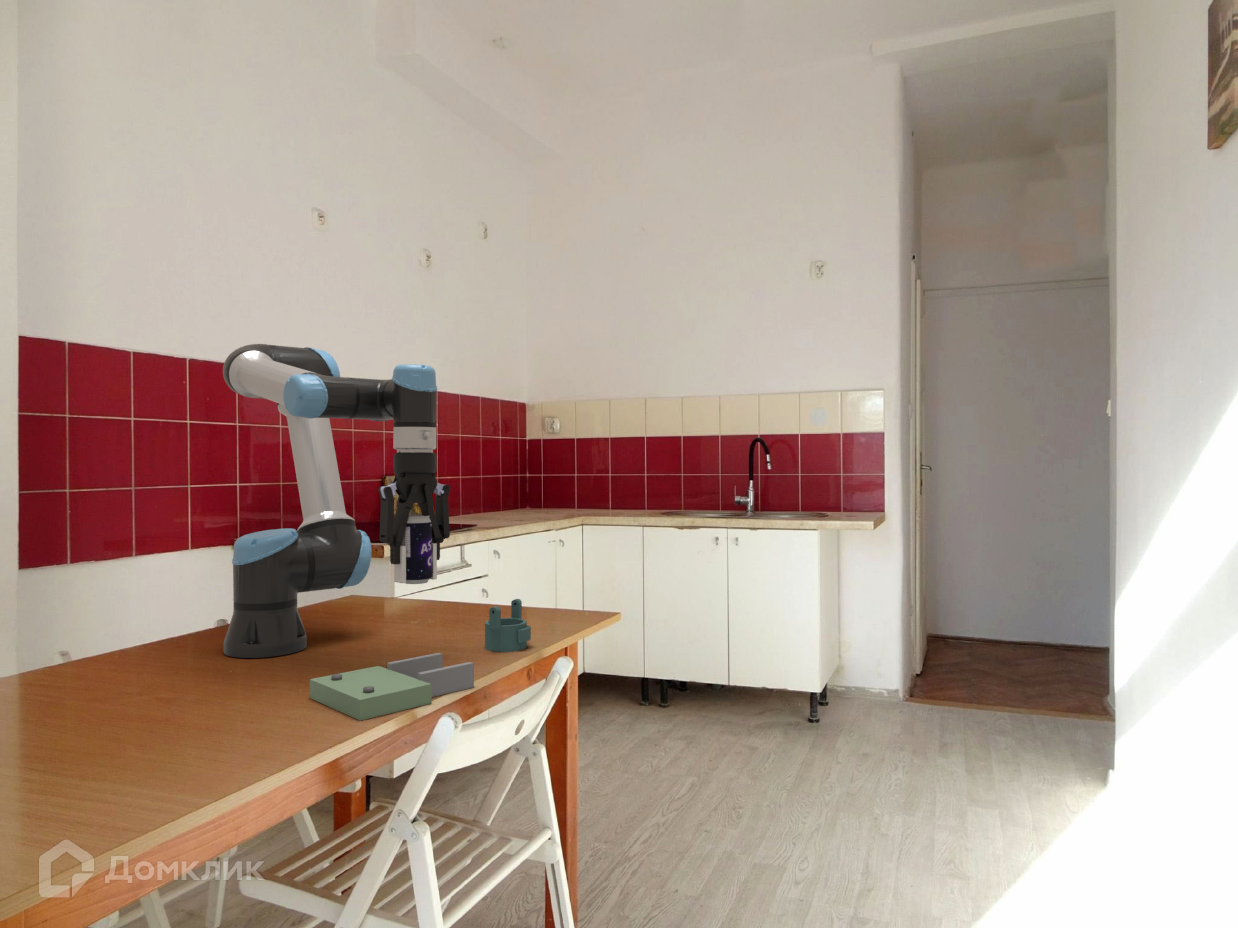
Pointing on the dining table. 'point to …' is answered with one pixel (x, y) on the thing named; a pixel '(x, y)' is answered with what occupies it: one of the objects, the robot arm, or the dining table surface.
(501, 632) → the bracket
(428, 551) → the beverage can
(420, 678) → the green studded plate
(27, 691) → the dining table surface
